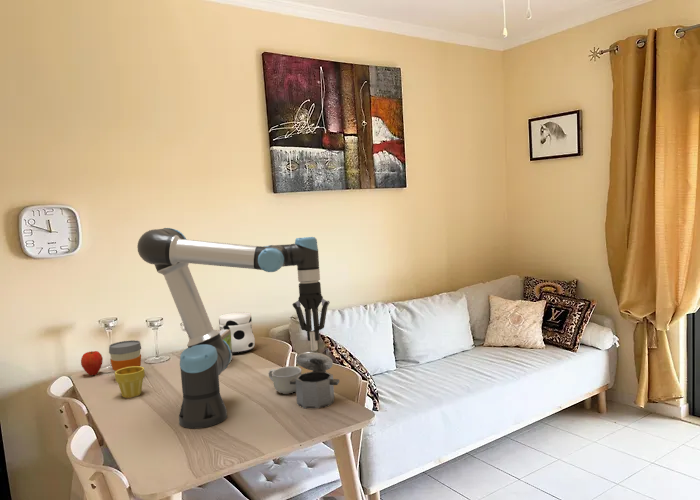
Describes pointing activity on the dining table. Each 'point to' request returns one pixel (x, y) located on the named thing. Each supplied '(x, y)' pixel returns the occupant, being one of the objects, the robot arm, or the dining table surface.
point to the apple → (91, 362)
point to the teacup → (284, 378)
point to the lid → (314, 361)
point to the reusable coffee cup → (125, 354)
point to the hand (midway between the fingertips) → (314, 349)
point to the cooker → (315, 389)
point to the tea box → (226, 338)
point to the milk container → (238, 330)
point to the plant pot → (130, 380)
